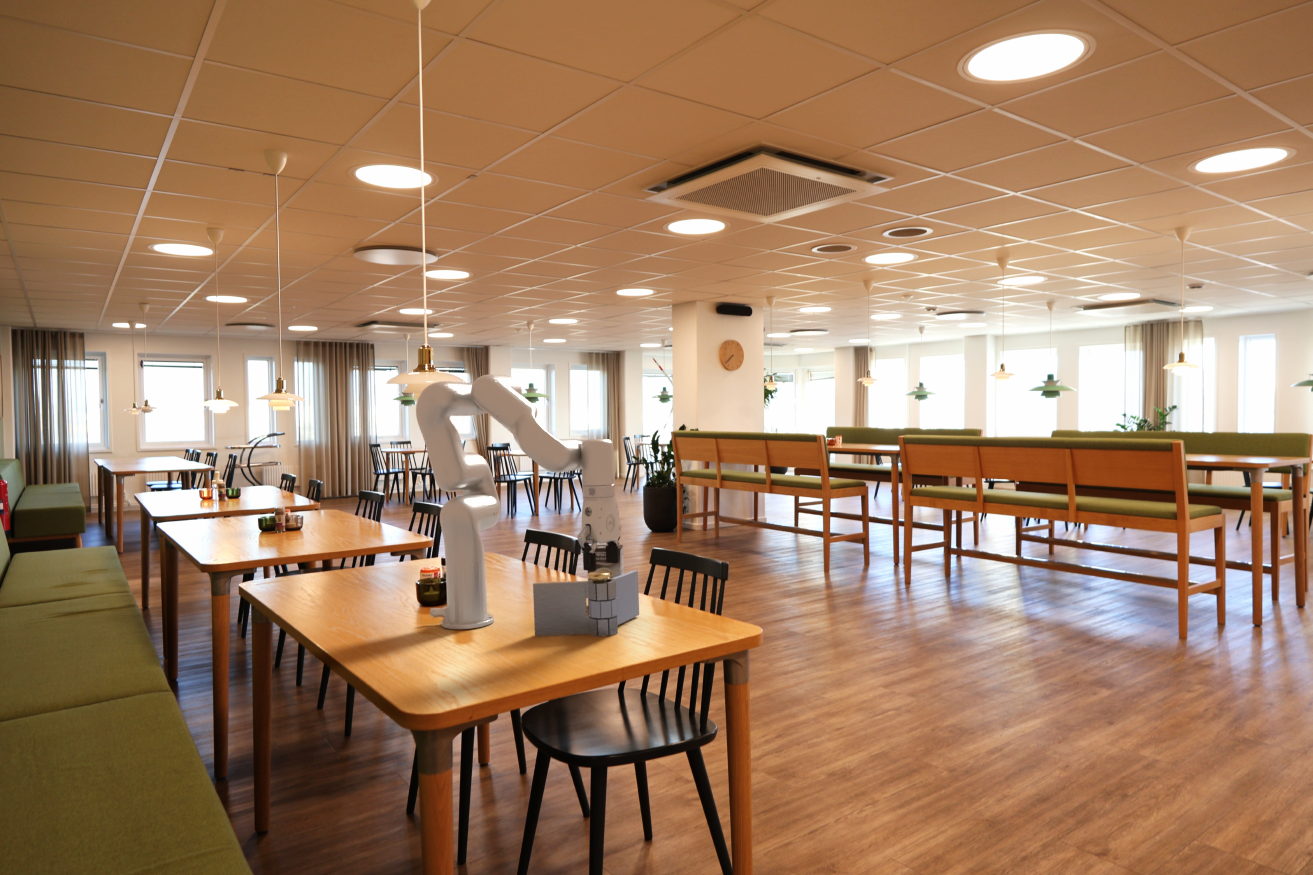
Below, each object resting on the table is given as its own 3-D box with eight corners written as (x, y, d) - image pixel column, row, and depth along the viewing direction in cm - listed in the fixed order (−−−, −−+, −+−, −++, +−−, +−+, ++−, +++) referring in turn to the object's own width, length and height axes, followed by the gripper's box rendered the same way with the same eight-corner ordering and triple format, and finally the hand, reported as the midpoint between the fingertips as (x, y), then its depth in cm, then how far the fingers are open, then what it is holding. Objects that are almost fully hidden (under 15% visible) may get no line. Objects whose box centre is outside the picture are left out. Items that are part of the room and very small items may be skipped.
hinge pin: (589, 636, 180) (587, 575, 180) (590, 630, 185) (588, 571, 184) (611, 635, 180) (609, 574, 180) (612, 629, 185) (609, 570, 185)
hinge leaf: (608, 635, 178) (606, 586, 178) (584, 632, 181) (582, 584, 181) (648, 615, 195) (646, 571, 195) (626, 613, 198) (624, 569, 198)
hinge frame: (533, 639, 179) (531, 586, 179) (536, 631, 185) (534, 580, 185) (617, 635, 180) (615, 582, 179) (617, 628, 186) (616, 577, 186)
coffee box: (587, 609, 206) (585, 548, 206) (591, 604, 212) (589, 544, 212) (622, 609, 205) (620, 547, 205) (625, 603, 211) (623, 543, 211)
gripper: (592, 496, 173) (595, 574, 173) (631, 489, 188) (634, 561, 188) (564, 495, 176) (566, 572, 176) (604, 489, 191) (607, 559, 192)
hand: (601, 566), depth 182 cm, fingers open, 9 cm apart
